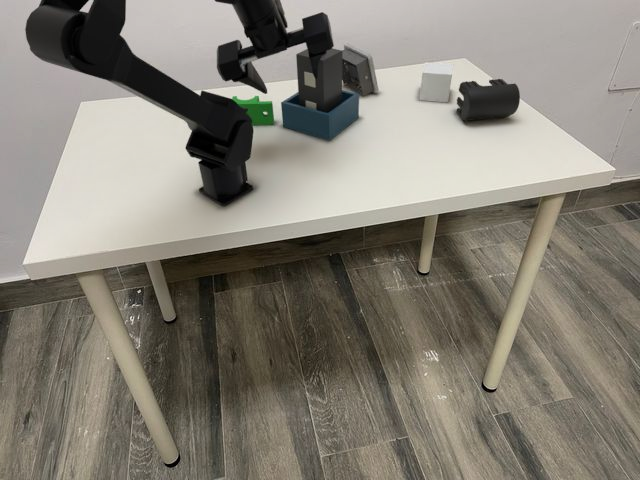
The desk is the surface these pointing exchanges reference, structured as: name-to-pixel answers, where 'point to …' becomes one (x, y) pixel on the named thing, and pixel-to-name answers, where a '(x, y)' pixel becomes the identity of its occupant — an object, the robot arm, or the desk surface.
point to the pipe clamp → (257, 110)
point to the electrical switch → (358, 70)
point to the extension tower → (320, 81)
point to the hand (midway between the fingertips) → (291, 84)
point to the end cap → (487, 100)
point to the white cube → (436, 82)
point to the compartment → (320, 116)
